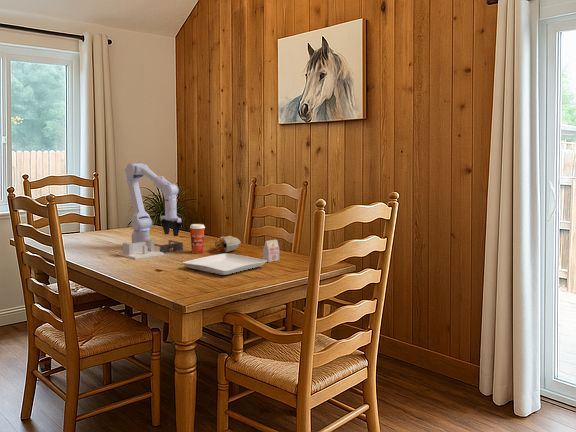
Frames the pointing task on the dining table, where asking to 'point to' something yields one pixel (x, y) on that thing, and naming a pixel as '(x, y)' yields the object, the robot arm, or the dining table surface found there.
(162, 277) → the dining table surface
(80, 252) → the dining table surface
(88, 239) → the dining table surface
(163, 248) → the glasses
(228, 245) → the nautilus
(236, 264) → the square plate
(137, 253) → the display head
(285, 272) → the dining table surface
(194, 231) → the paper cup
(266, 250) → the milk carton
